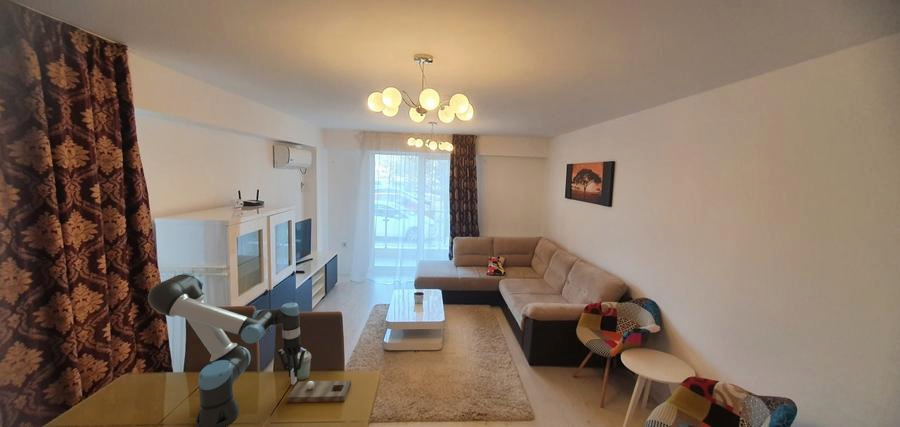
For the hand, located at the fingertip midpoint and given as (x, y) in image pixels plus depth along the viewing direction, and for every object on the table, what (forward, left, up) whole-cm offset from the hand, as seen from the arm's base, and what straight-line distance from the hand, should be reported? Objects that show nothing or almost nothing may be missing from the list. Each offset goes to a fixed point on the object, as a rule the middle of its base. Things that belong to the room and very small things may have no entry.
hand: (294, 382), depth 157 cm
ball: (+8, 0, -1) cm, 8 cm away
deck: (+13, 0, -6) cm, 14 cm away
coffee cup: (-1, +14, -6) cm, 15 cm away
